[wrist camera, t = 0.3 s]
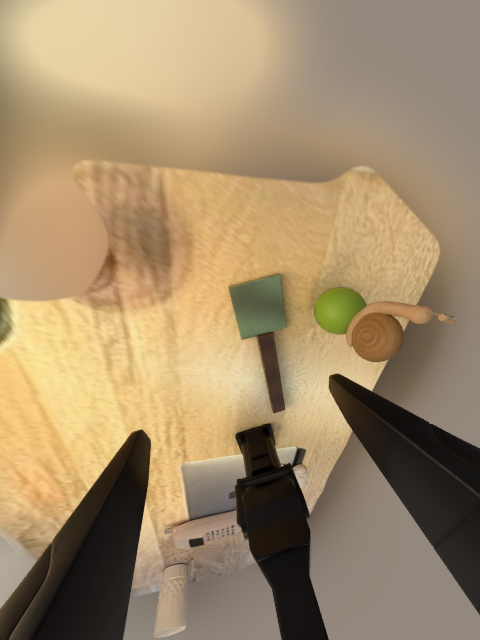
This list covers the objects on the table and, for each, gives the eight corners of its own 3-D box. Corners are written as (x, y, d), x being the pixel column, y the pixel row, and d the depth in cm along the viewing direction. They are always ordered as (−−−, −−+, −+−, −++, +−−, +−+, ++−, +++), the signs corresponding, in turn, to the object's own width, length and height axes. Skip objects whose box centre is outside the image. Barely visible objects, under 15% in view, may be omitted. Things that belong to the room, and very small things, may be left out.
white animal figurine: (265, 463, 39) (269, 480, 37) (312, 463, 43) (319, 479, 40) (250, 486, 42) (253, 504, 40) (295, 485, 46) (301, 501, 43)
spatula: (294, 400, 32) (297, 406, 31) (259, 410, 32) (261, 417, 31) (278, 273, 22) (282, 275, 21) (228, 286, 21) (229, 289, 20)
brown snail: (357, 280, 24) (479, 323, 13) (332, 324, 26) (419, 391, 16) (321, 269, 22) (426, 307, 12) (299, 317, 25) (370, 384, 14)
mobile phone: (275, 544, 45) (164, 575, 41) (268, 511, 50) (168, 535, 46) (278, 534, 42) (159, 565, 38) (269, 500, 48) (164, 524, 43)
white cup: (183, 572, 59) (179, 633, 50) (157, 575, 56) (148, 639, 48) (192, 561, 57) (191, 623, 48) (166, 564, 54) (159, 630, 45)
